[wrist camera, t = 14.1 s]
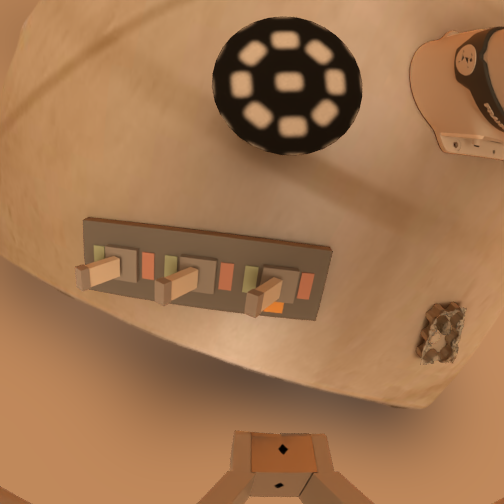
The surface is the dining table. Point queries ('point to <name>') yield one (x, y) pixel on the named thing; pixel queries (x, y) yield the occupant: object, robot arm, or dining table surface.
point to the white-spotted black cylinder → (287, 85)
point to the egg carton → (444, 327)
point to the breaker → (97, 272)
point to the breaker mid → (175, 285)
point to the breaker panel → (209, 266)
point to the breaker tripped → (262, 297)
